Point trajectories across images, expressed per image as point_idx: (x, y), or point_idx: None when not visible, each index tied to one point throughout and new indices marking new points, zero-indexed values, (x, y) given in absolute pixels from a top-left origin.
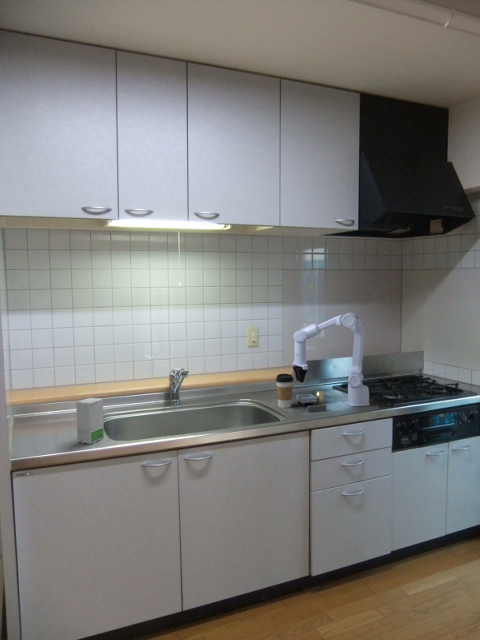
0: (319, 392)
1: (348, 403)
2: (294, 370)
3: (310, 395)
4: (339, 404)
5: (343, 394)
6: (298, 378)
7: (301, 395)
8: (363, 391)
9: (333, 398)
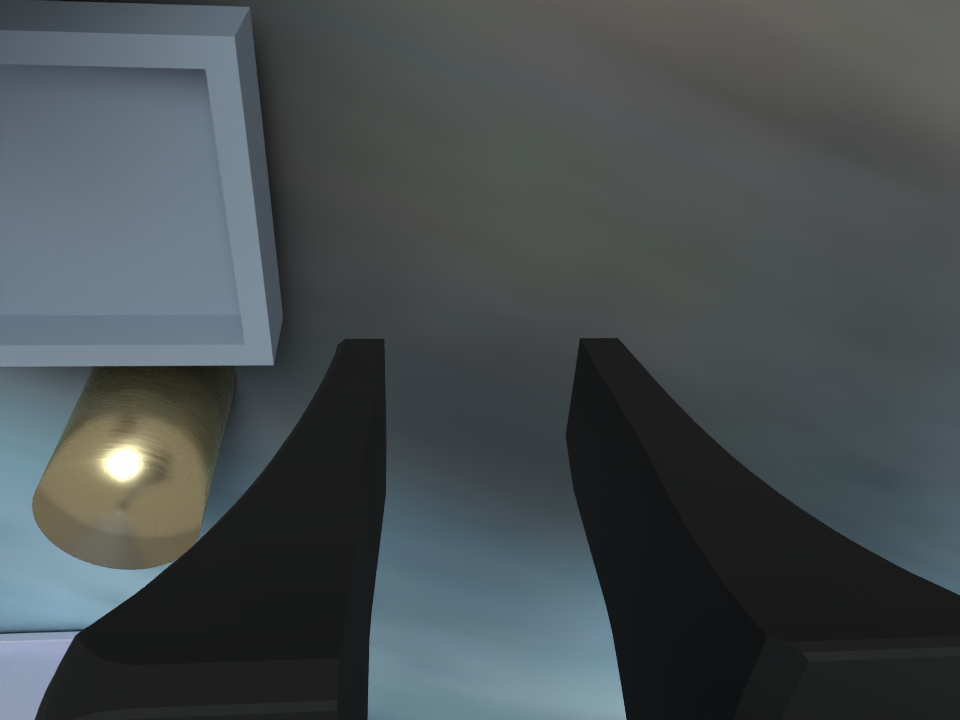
0: (72, 501)
1: (26, 648)
2: (764, 549)
3: (211, 335)
4: (55, 562)
5: (535, 716)
6: (587, 423)
7: (222, 161)
8: None
9: (390, 595)
